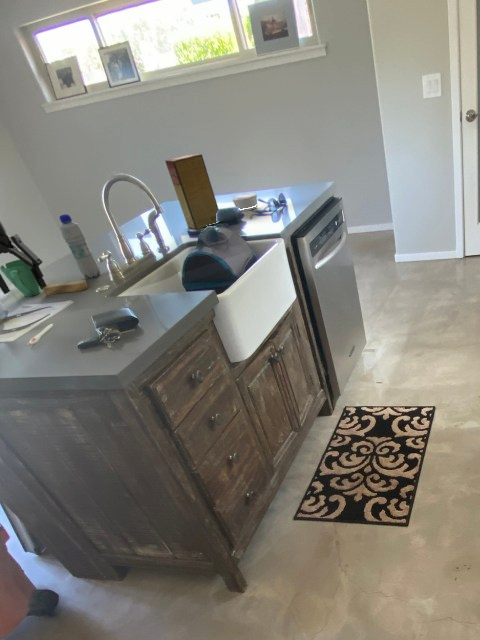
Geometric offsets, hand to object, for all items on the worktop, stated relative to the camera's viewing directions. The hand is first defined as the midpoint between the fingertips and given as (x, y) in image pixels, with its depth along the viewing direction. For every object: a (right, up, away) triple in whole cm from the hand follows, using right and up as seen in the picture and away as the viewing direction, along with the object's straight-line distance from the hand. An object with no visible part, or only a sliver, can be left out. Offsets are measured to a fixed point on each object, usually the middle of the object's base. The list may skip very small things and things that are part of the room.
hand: (25, 290), depth 176 cm
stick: (+14, 0, 0) cm, 14 cm away
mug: (+1, -1, +1) cm, 2 cm away
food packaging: (+44, +51, +51) cm, 84 cm away
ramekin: (+59, +65, +64) cm, 109 cm away
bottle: (+17, +9, +10) cm, 22 cm away
